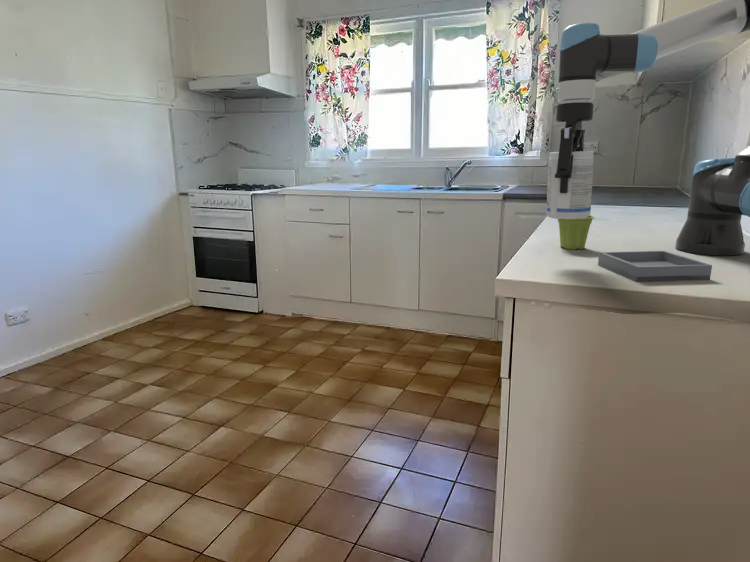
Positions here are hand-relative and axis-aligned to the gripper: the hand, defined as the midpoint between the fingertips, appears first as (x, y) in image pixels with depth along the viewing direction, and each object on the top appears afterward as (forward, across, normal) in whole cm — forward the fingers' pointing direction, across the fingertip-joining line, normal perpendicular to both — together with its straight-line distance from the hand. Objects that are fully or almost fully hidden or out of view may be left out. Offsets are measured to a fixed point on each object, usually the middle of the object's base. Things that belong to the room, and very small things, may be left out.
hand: (568, 205), depth 118 cm
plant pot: (+14, -21, -2) cm, 25 cm away
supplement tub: (+3, 0, 0) cm, 3 cm away
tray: (+14, 0, +18) cm, 23 cm away
